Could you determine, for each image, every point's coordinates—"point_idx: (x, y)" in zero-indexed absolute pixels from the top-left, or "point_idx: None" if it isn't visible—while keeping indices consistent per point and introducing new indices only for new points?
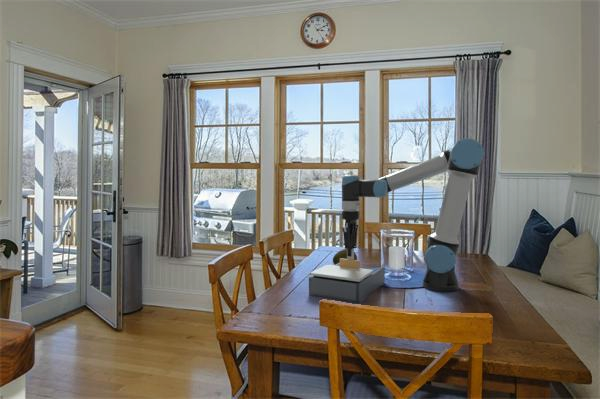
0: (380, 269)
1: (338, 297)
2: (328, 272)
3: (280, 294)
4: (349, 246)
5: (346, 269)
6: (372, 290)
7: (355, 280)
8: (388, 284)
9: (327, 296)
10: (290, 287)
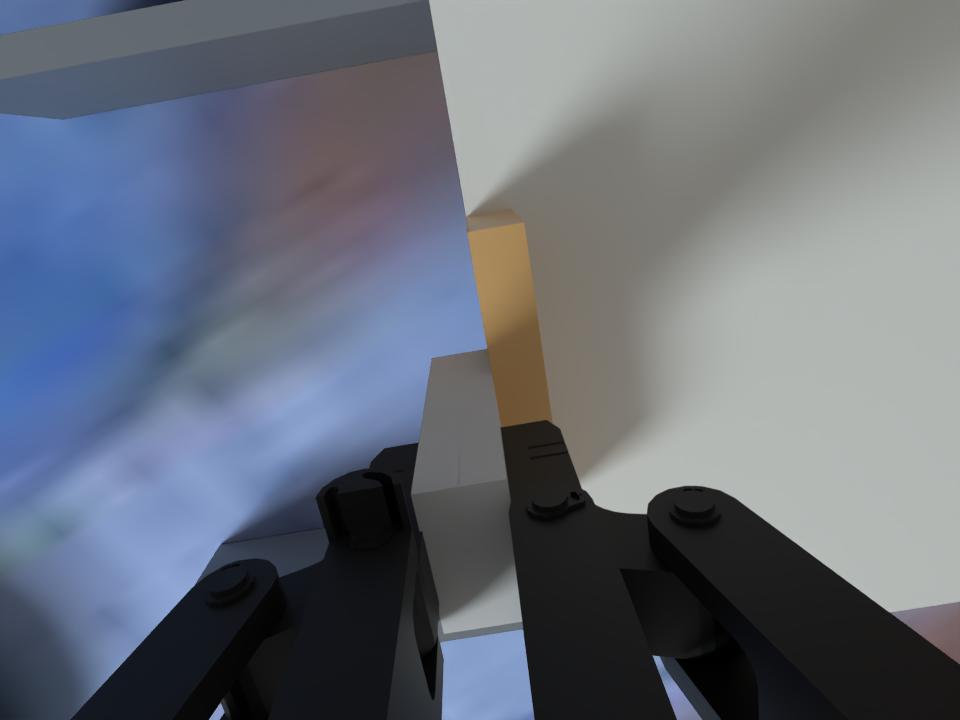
0: (84, 19)
1: None
2: (936, 433)
3: (956, 619)
4: (761, 529)
5: (655, 335)
6: None
7: None
8: (76, 12)
9: None
10: None
